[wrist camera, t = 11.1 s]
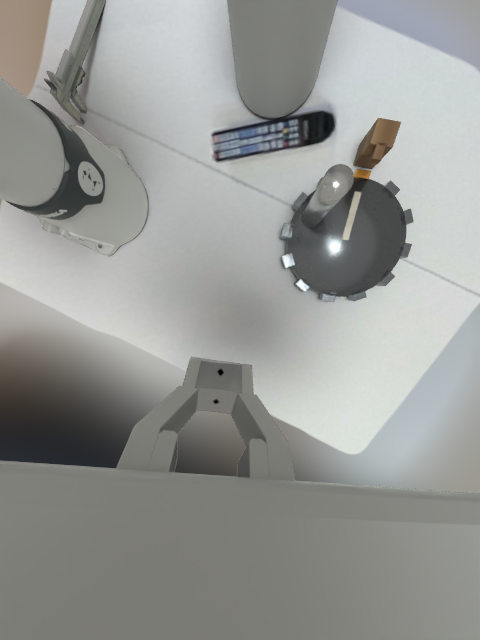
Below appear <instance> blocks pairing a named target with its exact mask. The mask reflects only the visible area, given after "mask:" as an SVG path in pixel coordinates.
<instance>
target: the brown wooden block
mask: <svg viewBox="0 0 480 640" xmlns="http://www.w3.org/2000/svg"><path fill="white" fill-rule="evenodd" d="M400 124H401V122H399V121H393V120H388V119H382V118H378V119H377V121H376V122H375V123H374V125H373V126H372V128H371V129H370V131H369V132H368V133H367V135H366V136H365V138H364V139H363V140H362V142H361V143H360V145H359V148H358V151H357V155H356V158H355V161H354V164H353V165H354V166H359V167H364V168H369V169H372V168H373V167H374V166H375V165H376V164H378V163H379V162H380V161H381V159H382V158H383V157H384V156H385V155H386V154H387V153H388V152H389V151H390V149H391V148H392V147H393V144H394V142H395V139H396V136H397V133H398V130H399V127H400Z"/></svg>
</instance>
